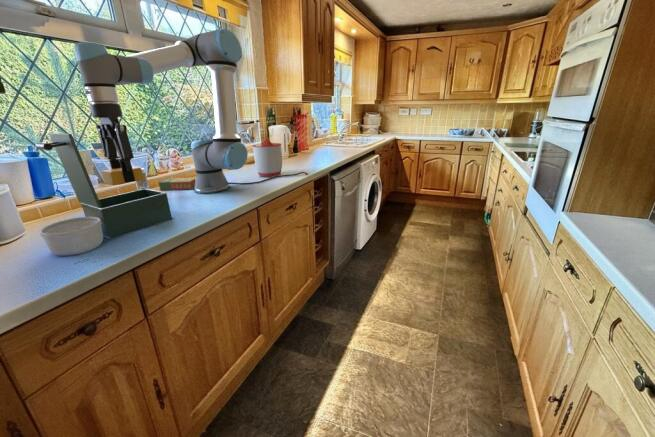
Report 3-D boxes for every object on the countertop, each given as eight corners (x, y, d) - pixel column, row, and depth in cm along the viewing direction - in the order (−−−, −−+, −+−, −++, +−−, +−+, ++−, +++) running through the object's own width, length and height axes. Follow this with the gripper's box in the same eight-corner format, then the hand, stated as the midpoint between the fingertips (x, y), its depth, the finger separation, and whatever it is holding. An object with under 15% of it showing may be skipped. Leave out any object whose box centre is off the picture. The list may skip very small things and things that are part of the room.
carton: (192, 189, 144) (190, 180, 143) (159, 190, 145) (157, 181, 143) (199, 185, 152) (198, 176, 151) (168, 186, 153) (166, 177, 151)
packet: (134, 178, 101) (131, 166, 100) (143, 179, 98) (140, 167, 97) (104, 183, 94) (100, 170, 93) (113, 185, 91) (110, 172, 90)
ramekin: (113, 245, 85) (106, 222, 83) (52, 263, 76) (42, 238, 73) (100, 234, 93) (94, 213, 91) (44, 249, 84) (35, 226, 82)
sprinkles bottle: (147, 201, 127) (139, 169, 123) (137, 201, 128) (129, 169, 123) (154, 198, 132) (146, 167, 127) (144, 198, 132) (136, 167, 127)
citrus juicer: (268, 171, 181) (264, 137, 174) (289, 174, 171) (286, 137, 164) (247, 176, 169) (243, 139, 162) (269, 179, 159) (266, 140, 152)
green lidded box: (151, 213, 112) (145, 188, 109) (172, 218, 105) (166, 192, 102) (90, 231, 96) (80, 203, 93) (110, 239, 90) (100, 209, 86)
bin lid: (52, 133, 85) (26, 136, 81) (71, 133, 78) (44, 137, 74) (81, 201, 93) (60, 207, 89) (101, 207, 86) (79, 214, 82)
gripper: (75, 104, 90) (98, 180, 98) (105, 102, 81) (127, 186, 89) (103, 104, 96) (122, 175, 104) (134, 102, 87) (152, 181, 95)
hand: (124, 180), depth 96 cm, fingers closed on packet, 6 cm apart
